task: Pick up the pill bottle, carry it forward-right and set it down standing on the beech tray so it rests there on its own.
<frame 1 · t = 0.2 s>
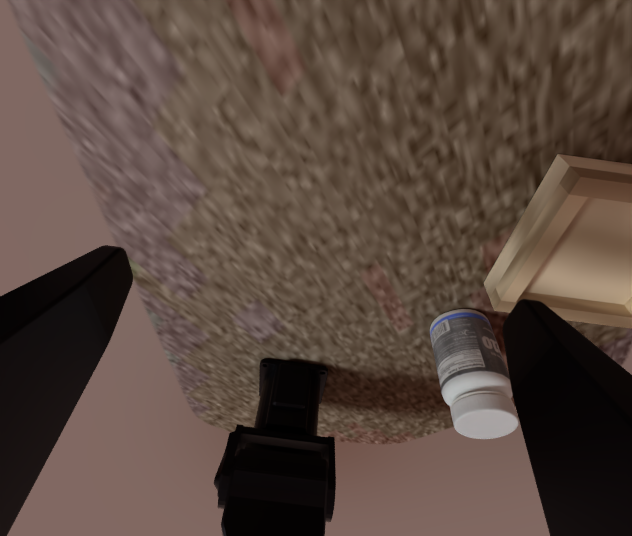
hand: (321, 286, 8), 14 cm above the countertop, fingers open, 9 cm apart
beech tray: (591, 237, 24), on the countertop
pill bottle: (458, 324, 31), on the countertop
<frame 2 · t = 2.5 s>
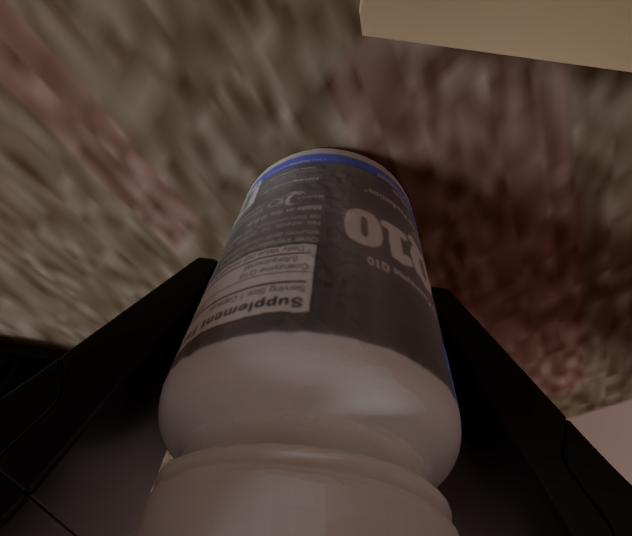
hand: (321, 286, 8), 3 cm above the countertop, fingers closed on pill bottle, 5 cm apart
pill bottle: (327, 220, 11), on the countertop, touching gripper
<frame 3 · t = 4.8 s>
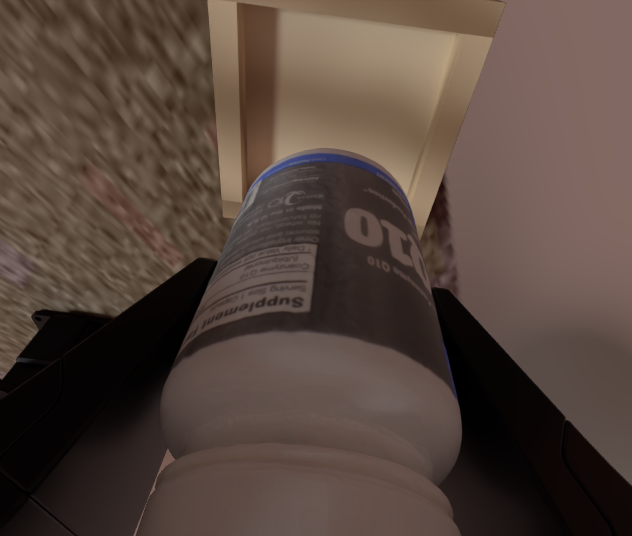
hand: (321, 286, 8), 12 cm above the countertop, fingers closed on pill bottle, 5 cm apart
beech tray: (337, 110, 17), on the countertop
pill bottle: (326, 220, 11), point 9 cm above the countertop, touching gripper
when the fingers open (4 cm above the countertop, at t = 6.8 s): pill bottle stays where it is, resting on beech tray.
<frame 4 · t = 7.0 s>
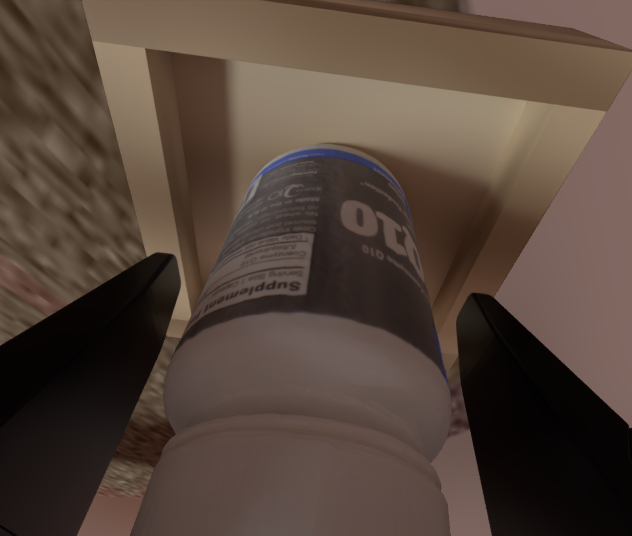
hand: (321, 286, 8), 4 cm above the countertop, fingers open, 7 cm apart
beech tray: (330, 190, 12), on the countertop
pill bottle: (325, 214, 11), point 1 cm above the countertop, touching beech tray
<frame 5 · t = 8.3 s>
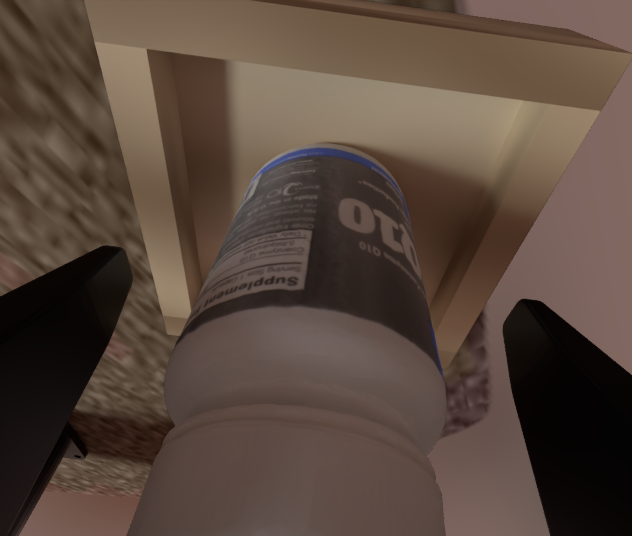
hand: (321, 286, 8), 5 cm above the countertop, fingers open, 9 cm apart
beech tray: (329, 189, 12), on the countertop
pill bottle: (324, 213, 11), point 1 cm above the countertop, touching beech tray
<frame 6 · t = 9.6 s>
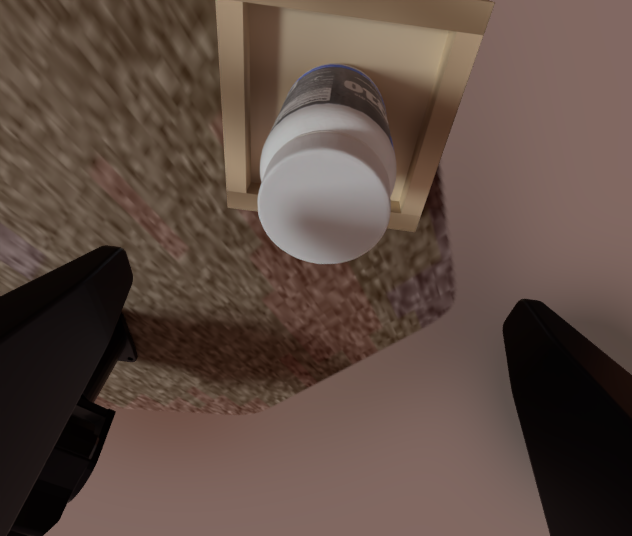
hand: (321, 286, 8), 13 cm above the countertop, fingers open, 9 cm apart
beech tray: (336, 105, 18), on the countertop
pill bottle: (333, 115, 17), point 1 cm above the countertop, touching beech tray
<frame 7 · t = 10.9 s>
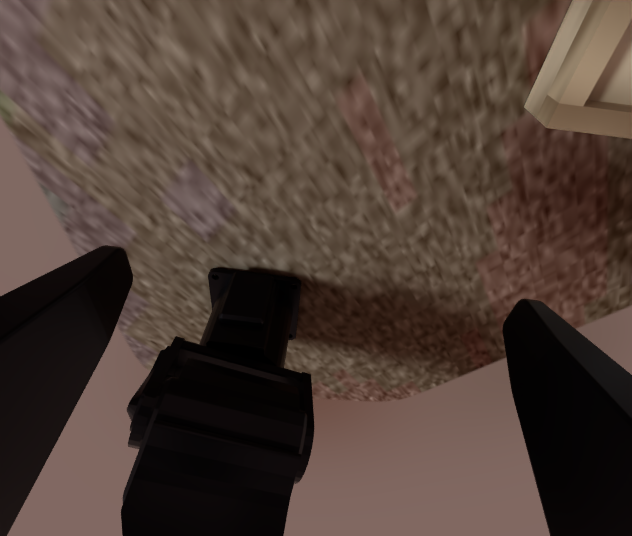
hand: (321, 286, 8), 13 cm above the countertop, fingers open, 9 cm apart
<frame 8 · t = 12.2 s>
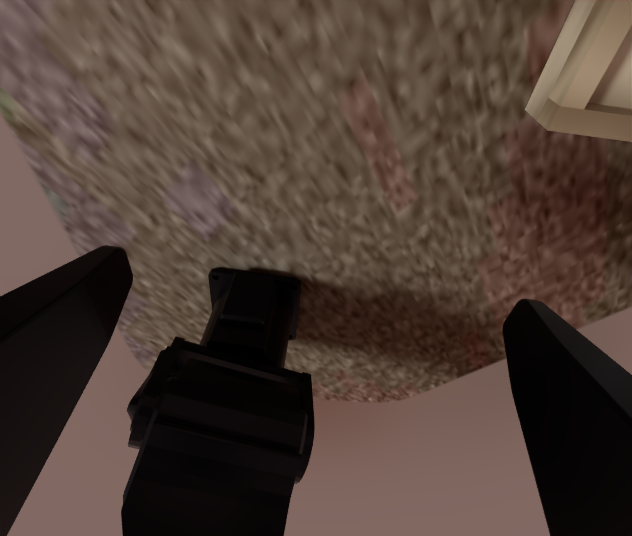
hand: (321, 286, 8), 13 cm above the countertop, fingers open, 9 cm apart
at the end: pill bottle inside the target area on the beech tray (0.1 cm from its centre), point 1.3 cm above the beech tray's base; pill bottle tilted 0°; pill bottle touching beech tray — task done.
